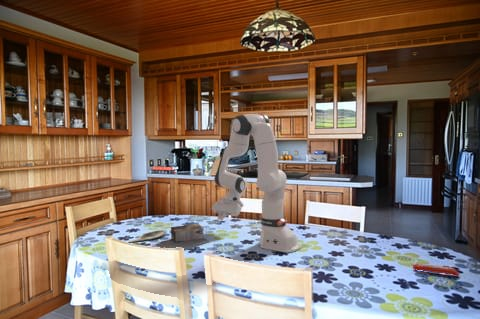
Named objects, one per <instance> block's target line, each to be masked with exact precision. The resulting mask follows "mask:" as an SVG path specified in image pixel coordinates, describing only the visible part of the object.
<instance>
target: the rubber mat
mask: <svg viewBox="0 0 480 319" xmlns="http://www.w3.org/2000/svg"><path fill="white" fill-rule="evenodd" d="M210 242H211V240H207V239H205V238H202V239H195V240H188V241H181V242H174V241H173V239H169V240H166V241H163V242H159V243H156V244H155V245H156V246H158V247H160V248H162V247H165V248H176V247H182V248H184V251H187V250H191V249H193V248H196V247H199V246H202V245H205V244H209V243H210ZM165 248H164V249H165Z"/></svg>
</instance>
